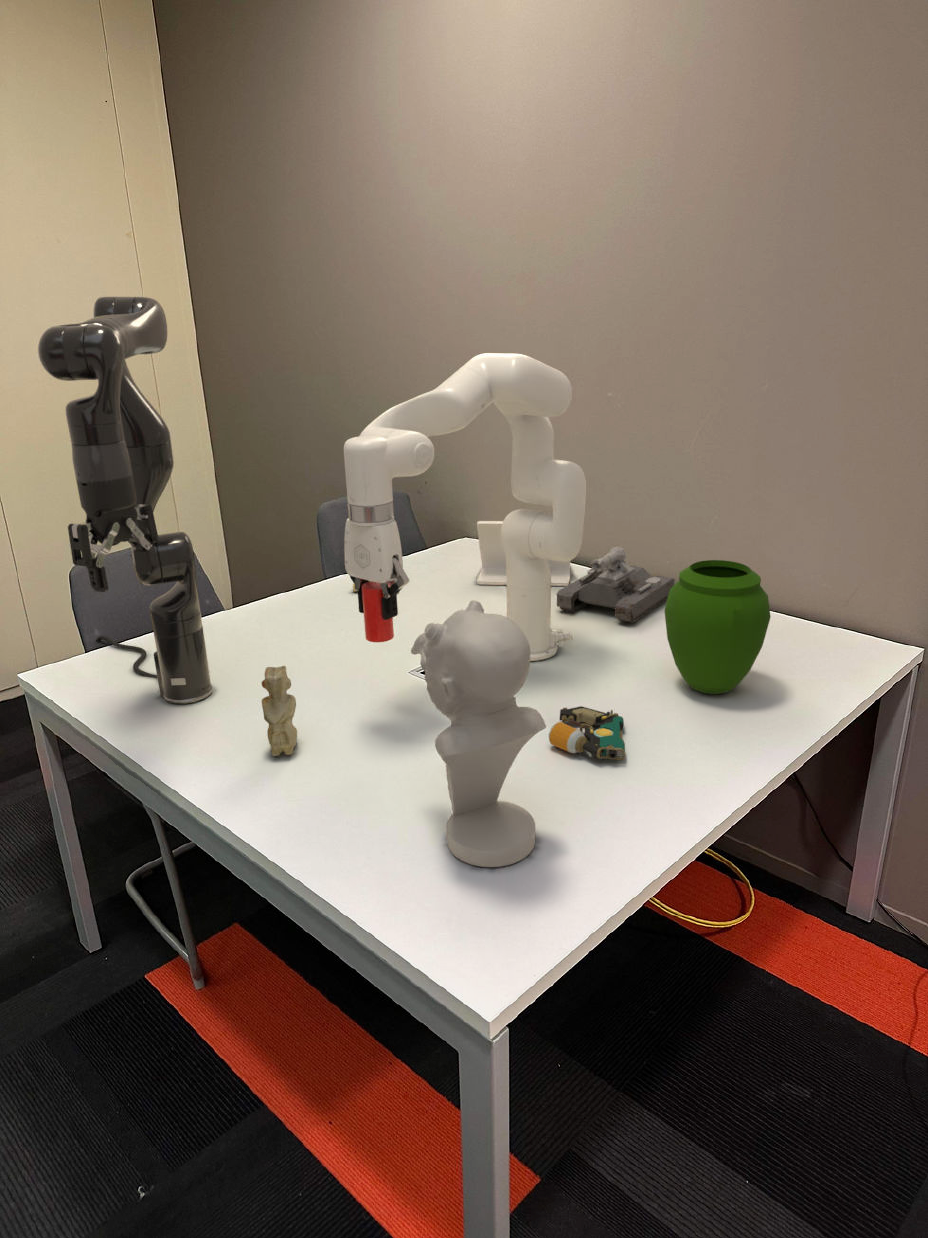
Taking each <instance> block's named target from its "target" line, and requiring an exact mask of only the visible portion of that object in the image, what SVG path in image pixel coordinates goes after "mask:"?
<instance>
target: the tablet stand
mask: <svg viewBox="0 0 928 1238" xmlns="http://www.w3.org/2000/svg"><path fill="white" fill-rule="evenodd" d="M503 521H504V520H477V522H476V531H477V537H478V544H479V551H480V557H481V558H480V559H481V570H480V573H479V575H478V577H477V580H476V581H477V582H476V584H478V585H484V586H485V585H486V586H487V585H489V586H490V585H491V586H507V572H506V559H505V552H504V548H503V543H502V538H501V527H502V523H503ZM546 560H547V563H548V565H549V568H550V572H551V587H556V586H557V587H566V586H567V585H569V584H570V580H571V579H570V578H571V565H572V564H571V561H572V560H571V561H567V562H560V561H553V560H548V559H546Z"/></svg>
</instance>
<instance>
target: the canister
mask: <svg viewBox="0 0 928 1238" xmlns="http://www.w3.org/2000/svg"><path fill="white" fill-rule="evenodd" d="M387 584H388V587H389V588H390V587H391V584H390V583H389V582H388V583H387ZM383 597H384V595H383V592H382V588H381V584H380V583H377V582H372V581H371V582H367V583H364V584H363V585H362V599H363V612H364V613H363V624H364V634H365V635H364V637H365V640H366V641H368V642H370V643H385V642H389V641H391V640H393V638H395V633H394V632H395V631H394V617H392V618H390V619H388V620H384V619H383V618H382V605H381V598H383Z"/></svg>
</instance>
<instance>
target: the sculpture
mask: <svg viewBox="0 0 928 1238" xmlns="http://www.w3.org/2000/svg"><path fill="white" fill-rule="evenodd" d="M261 687H262V688H263V689H265V690H266V692H268V695H267V696H265V697H262V698H261V707H262V711H263V712H262V713H263V719H264V721H265V722H266V723H267V724H268V727H267V731H266V732H267V733H266V734H267V735H266V736H267V739H268V743H269V747H270V750H271V754H272V756H273V757H275V756H276V757H277V756H278V757H279V756H281V753H282V752H284V754H285V755H286V756H288V755H292V754H293V753H294V747H295V746H296V745H297V741H298V729H297V728H296V726H295V725H294V724H293V718H294V716H295V713H296V707H297V699H296V697H295V696H294V695H293V694H289V693H287V691H289V689H291V687H292V680H291V679H290V678H289V677H288V673H287V667H286V665H282V666H278V667H274V666H267V667H266V668H265V670H264V679H263V680H262V681H261Z"/></svg>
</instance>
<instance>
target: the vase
mask: <svg viewBox="0 0 928 1238" xmlns="http://www.w3.org/2000/svg"><path fill="white" fill-rule="evenodd" d="M761 582H762V577H761V576H760V575H759V574H758V573H757V572H755V571H754V570H753V569H752V568H751V567H750V566H748V565H746V564H743V563H741V562H737V561H732V560H723V559H722V560H721V559H710V560H709V559H708V560H707V559H706V560H701V561H696V562H694V563H692V564H690V565H689V566H687V567H685V568H684V569H681V570H680V572H679V574H678V580H677V582H675V583H674V586H673V587H672V588H671V589H670V591H669V595H668V598H667V600H666V601H665V604H664V605H665V606H664V619H665V620H664V621H665V628H666V637H667V638H666V639H667V642H668V645H669V649H670V651H671V655H672V658H673V661H674V664H675V666H676V668H677V670H678V671H679V674H680V675H681V677H682V678H683V680H684V682H686V683H687V685H688V687H690V688H692V689H693V690H695V691H697V692H699V693H702V694H708V695H720V694H725V693H729V692H731V691H732V690H734V688H736V687H737V686H738V685H740V683H742V681H743V680H744V679H745V678H746V676H747V675H748V674H749V673H750V671H751V669H752V667H753V665H754V664H755V662H756V660H757V658H758V656H759V654H760V652H761V650H762V648H763V645H764V642H765V638H766V635H767V632H768V629H769V624H770V621H771V617H772V616H771V609H770V602H769V601H770V600H769V596H768V593H767V592H766V591H765V590H764V588H763V587H762V586H761Z"/></svg>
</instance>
